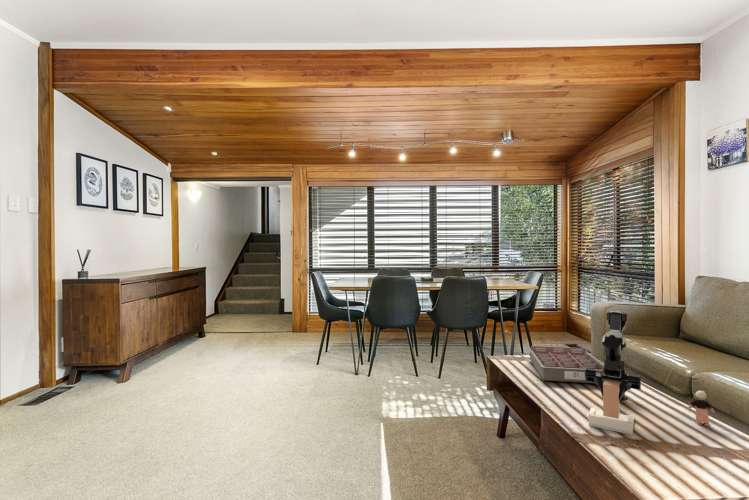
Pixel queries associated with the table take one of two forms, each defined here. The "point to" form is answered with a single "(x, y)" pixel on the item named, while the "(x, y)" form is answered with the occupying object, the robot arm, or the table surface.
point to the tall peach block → (611, 399)
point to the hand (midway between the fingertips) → (611, 398)
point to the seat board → (611, 421)
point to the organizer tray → (563, 363)
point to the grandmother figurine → (701, 408)
